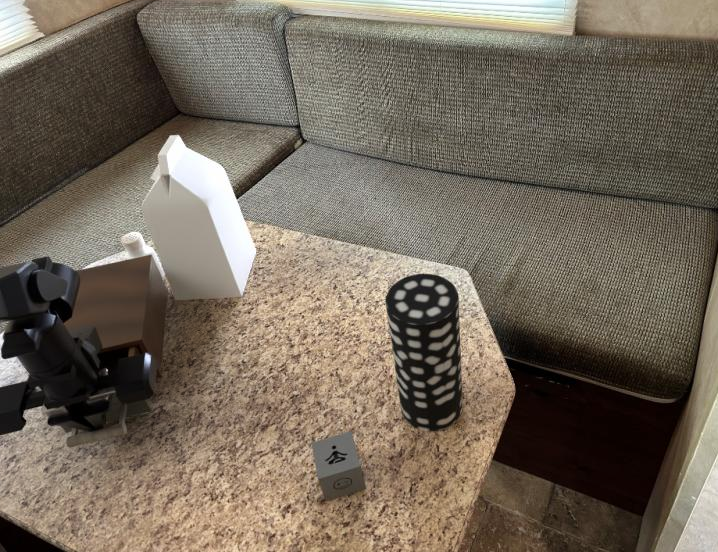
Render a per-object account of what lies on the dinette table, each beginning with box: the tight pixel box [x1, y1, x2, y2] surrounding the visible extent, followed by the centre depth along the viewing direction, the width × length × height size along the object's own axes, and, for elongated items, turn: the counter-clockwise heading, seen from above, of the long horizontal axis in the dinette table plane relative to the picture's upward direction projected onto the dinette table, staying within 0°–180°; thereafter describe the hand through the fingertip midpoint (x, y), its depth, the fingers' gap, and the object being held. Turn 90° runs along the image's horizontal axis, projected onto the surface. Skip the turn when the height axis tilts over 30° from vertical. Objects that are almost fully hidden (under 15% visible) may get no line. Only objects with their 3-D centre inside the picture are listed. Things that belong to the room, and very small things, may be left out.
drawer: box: [60, 345, 153, 449], centre depth 86 cm, size 23×11×6 cm, turn 14°
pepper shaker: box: [120, 231, 166, 279], centre depth 104 cm, size 4×4×10 cm
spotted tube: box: [385, 273, 464, 432], centre depth 75 cm, size 8×8×20 cm
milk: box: [141, 134, 257, 301], centre depth 98 cm, size 12×12×26 cm
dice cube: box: [310, 430, 367, 502], centre depth 73 cm, size 5×5×5 cm
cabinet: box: [63, 255, 169, 378], centre depth 94 cm, size 20×13×8 cm, turn 14°
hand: (103, 430), depth 80 cm, fingers closed, pressing on drawer
